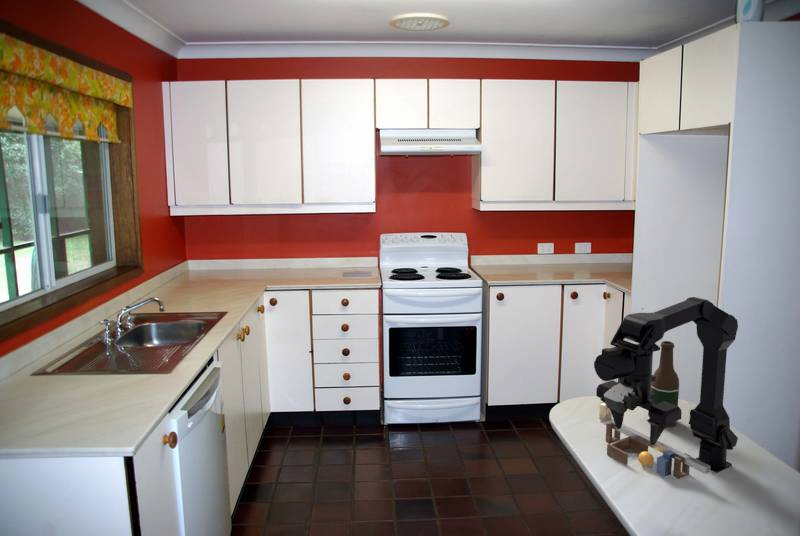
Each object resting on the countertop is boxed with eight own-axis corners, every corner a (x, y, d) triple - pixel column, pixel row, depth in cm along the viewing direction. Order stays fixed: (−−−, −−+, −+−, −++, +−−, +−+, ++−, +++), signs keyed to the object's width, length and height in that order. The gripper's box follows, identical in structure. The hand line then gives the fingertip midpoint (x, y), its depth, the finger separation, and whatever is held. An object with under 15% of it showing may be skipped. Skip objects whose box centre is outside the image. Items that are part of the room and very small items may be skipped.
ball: (644, 460, 150) (645, 447, 150) (656, 466, 147) (657, 453, 147) (634, 464, 149) (635, 451, 148) (646, 470, 146) (647, 457, 145)
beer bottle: (672, 415, 175) (676, 338, 170) (681, 427, 167) (687, 346, 162) (645, 415, 176) (648, 338, 171) (653, 427, 168) (657, 346, 163)
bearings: (616, 437, 163) (616, 420, 162) (689, 474, 144) (690, 455, 143) (605, 441, 161) (606, 424, 160) (678, 479, 142) (679, 459, 141)
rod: (604, 431, 166) (605, 400, 164) (711, 484, 138) (713, 449, 136) (588, 436, 163) (589, 405, 161) (694, 492, 135) (696, 456, 133)
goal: (628, 446, 157) (629, 436, 157) (647, 456, 152) (648, 445, 152) (606, 455, 154) (607, 444, 153) (625, 465, 148) (626, 454, 148)
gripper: (580, 366, 135) (578, 429, 138) (649, 394, 119) (646, 464, 122) (614, 356, 140) (612, 417, 143) (685, 381, 124) (681, 449, 127)
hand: (635, 436), depth 134 cm, fingers open, 9 cm apart
